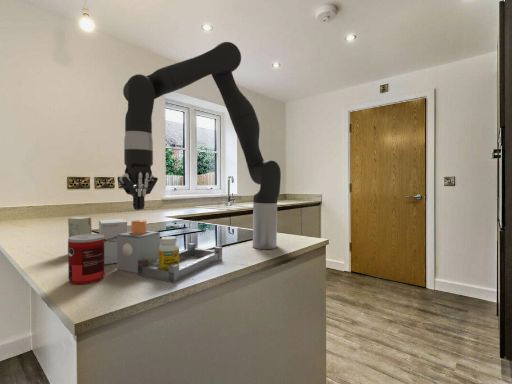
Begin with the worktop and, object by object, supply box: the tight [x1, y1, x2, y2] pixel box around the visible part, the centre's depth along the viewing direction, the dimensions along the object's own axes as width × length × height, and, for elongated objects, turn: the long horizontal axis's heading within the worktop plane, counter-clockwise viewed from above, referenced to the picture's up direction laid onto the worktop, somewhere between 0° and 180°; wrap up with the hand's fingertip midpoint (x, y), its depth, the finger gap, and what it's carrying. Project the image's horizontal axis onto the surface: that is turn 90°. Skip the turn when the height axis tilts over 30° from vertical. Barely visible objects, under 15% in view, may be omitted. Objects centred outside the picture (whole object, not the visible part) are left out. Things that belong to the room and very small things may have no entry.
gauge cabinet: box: [117, 230, 161, 274], centre depth 81 cm, size 8×8×10 cm
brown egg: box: [130, 219, 147, 235], centre depth 81 cm, size 4×4×6 cm
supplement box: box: [98, 218, 128, 265], centre depth 87 cm, size 7×7×13 cm
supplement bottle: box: [159, 235, 180, 269], centre depth 77 cm, size 5×5×10 cm
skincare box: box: [67, 216, 93, 238], centre depth 95 cm, size 6×4×12 cm
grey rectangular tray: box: [137, 242, 223, 283], centre depth 83 cm, size 23×12×4 cm, turn 156°
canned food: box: [67, 233, 105, 286], centre depth 71 cm, size 8×8×11 cm
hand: (138, 209), depth 81 cm, fingers closed
